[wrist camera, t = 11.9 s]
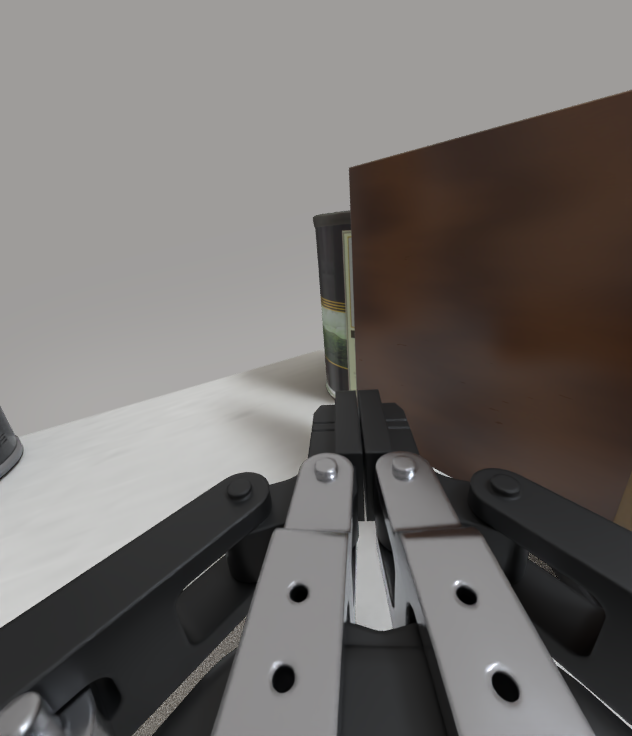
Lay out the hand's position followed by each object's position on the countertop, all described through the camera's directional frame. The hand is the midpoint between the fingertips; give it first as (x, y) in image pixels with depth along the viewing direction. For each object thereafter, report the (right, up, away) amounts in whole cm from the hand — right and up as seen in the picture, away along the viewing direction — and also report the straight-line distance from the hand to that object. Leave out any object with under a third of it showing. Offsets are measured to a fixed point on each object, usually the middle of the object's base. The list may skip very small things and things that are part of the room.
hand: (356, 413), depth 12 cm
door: (+6, -4, +4) cm, 8 cm away
